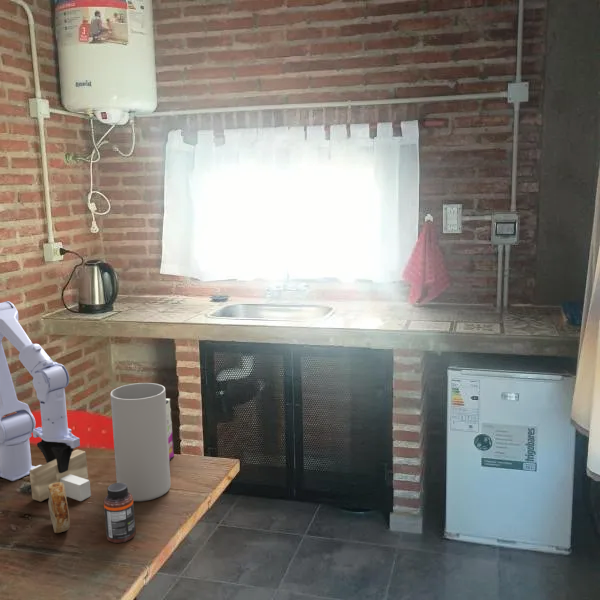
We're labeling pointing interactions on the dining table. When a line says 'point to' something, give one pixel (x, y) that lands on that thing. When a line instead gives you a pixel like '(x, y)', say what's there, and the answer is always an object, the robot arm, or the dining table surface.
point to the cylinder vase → (141, 439)
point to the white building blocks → (75, 486)
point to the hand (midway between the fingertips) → (58, 469)
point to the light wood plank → (56, 474)
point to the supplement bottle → (119, 513)
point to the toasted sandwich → (58, 507)
